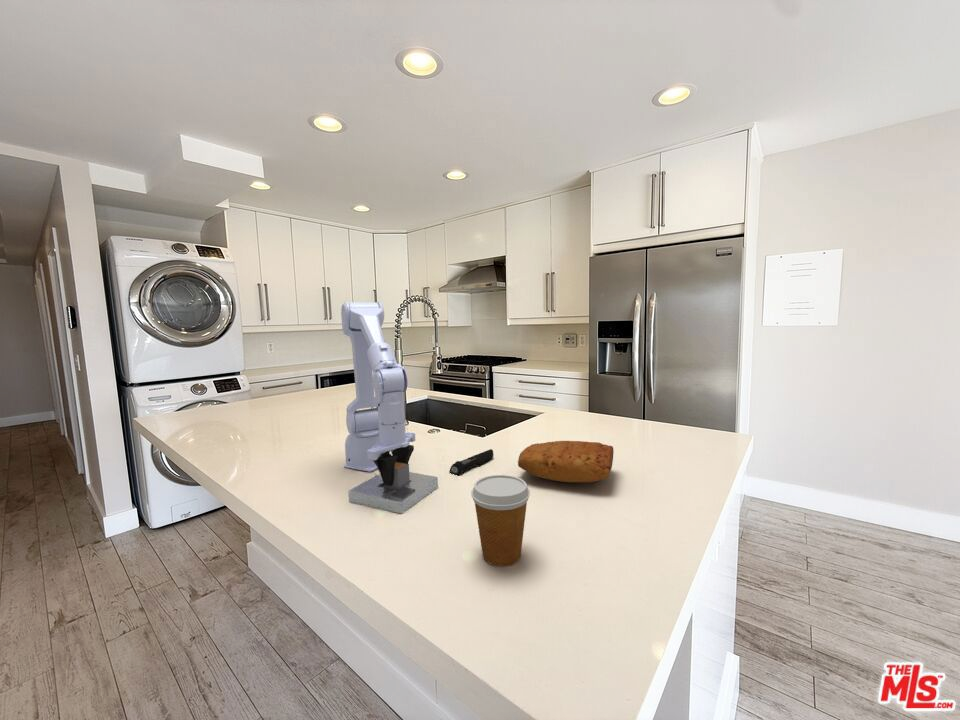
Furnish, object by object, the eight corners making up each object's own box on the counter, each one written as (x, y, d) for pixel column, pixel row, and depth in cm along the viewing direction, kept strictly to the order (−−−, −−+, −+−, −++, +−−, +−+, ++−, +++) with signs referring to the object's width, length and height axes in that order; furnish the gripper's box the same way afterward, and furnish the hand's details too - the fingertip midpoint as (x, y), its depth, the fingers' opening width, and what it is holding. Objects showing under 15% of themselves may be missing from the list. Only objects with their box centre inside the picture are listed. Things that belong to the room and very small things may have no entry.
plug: (384, 493, 89) (383, 466, 88) (395, 486, 92) (394, 461, 92) (398, 496, 87) (398, 469, 86) (409, 489, 91) (408, 463, 90)
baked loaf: (618, 472, 100) (618, 440, 99) (607, 500, 85) (608, 463, 84) (533, 460, 110) (533, 431, 109) (510, 483, 94) (510, 450, 94)
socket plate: (349, 501, 87) (348, 488, 86) (390, 478, 99) (389, 466, 99) (401, 513, 81) (400, 499, 80) (438, 487, 93) (437, 474, 93)
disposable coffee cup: (471, 541, 70) (469, 475, 69) (524, 537, 71) (523, 472, 70) (475, 575, 61) (473, 499, 59) (536, 570, 61) (535, 495, 60)
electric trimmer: (497, 460, 111) (497, 449, 111) (458, 477, 100) (458, 465, 99) (487, 458, 114) (486, 447, 113) (448, 474, 102) (447, 462, 102)
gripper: (385, 432, 80) (388, 497, 81) (425, 415, 93) (427, 472, 94) (358, 428, 83) (361, 491, 84) (400, 413, 96) (403, 468, 97)
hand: (394, 481), depth 90 cm, fingers closed on plug, 4 cm apart
